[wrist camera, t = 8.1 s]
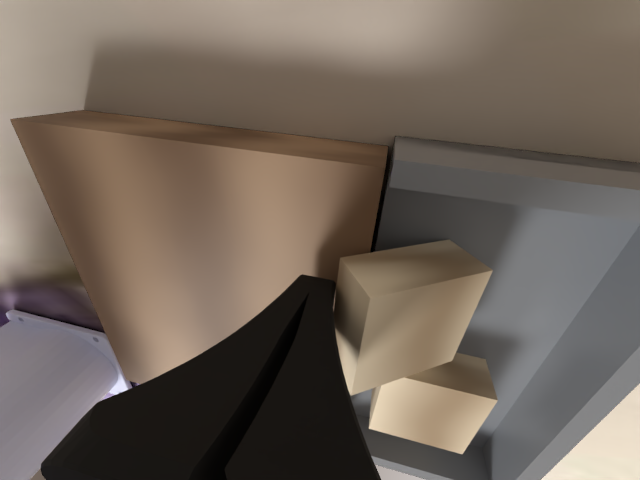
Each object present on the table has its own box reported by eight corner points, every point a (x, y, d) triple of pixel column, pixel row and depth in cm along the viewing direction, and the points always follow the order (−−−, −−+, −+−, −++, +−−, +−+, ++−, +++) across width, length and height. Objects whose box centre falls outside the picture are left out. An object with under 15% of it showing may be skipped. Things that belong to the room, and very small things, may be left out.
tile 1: (371, 391, 16) (368, 428, 15) (386, 336, 14) (384, 372, 12) (455, 413, 16) (462, 454, 14) (485, 359, 13) (498, 400, 12)
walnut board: (157, 343, 22) (126, 379, 19) (82, 110, 14) (10, 119, 11) (343, 391, 20) (335, 439, 17) (388, 146, 11) (385, 168, 9)
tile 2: (329, 350, 12) (351, 395, 10) (340, 257, 10) (370, 298, 8) (420, 324, 13) (452, 360, 12) (449, 239, 11) (493, 270, 9)
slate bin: (346, 396, 20) (335, 463, 16) (395, 135, 11) (394, 164, 8) (485, 432, 18) (505, 514, 15) (666, 166, 10) (809, 217, 6)
